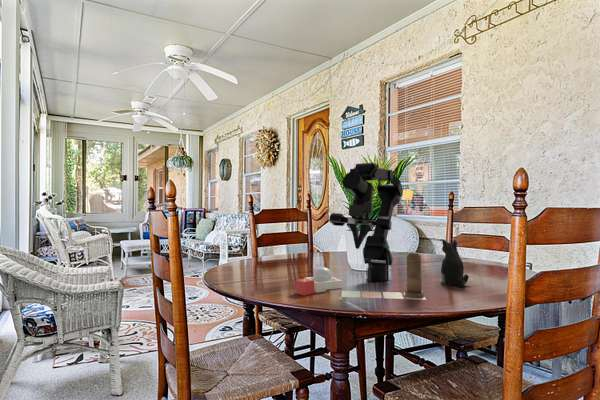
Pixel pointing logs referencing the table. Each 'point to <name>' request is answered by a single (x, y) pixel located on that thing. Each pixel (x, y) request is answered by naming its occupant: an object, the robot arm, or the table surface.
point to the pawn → (414, 276)
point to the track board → (375, 295)
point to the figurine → (452, 266)
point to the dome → (323, 275)
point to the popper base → (326, 285)
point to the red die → (304, 286)
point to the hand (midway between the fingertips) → (357, 248)
